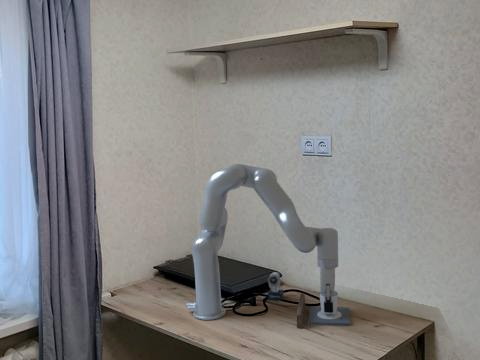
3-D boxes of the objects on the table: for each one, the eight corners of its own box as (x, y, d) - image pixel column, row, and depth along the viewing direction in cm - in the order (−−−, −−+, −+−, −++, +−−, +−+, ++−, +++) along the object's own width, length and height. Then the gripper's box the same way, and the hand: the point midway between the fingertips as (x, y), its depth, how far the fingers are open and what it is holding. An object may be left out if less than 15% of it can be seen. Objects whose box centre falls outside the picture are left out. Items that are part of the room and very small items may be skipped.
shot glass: (324, 306, 205) (324, 288, 204) (341, 309, 201) (341, 291, 200) (316, 312, 200) (315, 294, 199) (333, 316, 196) (332, 297, 195)
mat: (308, 324, 195) (308, 321, 195) (310, 309, 210) (310, 306, 209) (350, 325, 192) (350, 323, 192) (349, 310, 207) (349, 307, 207)
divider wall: (296, 328, 192) (296, 315, 191) (300, 305, 214) (300, 293, 213) (301, 328, 192) (301, 315, 191) (305, 305, 213) (304, 293, 213)
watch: (267, 301, 219) (266, 275, 218) (271, 294, 227) (270, 269, 225) (280, 302, 218) (279, 276, 216) (284, 295, 225) (283, 270, 224)
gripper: (318, 255, 207) (319, 300, 210) (316, 269, 190) (317, 317, 193) (338, 255, 206) (338, 300, 208) (338, 269, 189) (339, 318, 191)
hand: (328, 308), depth 200 cm, fingers closed on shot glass, 6 cm apart
